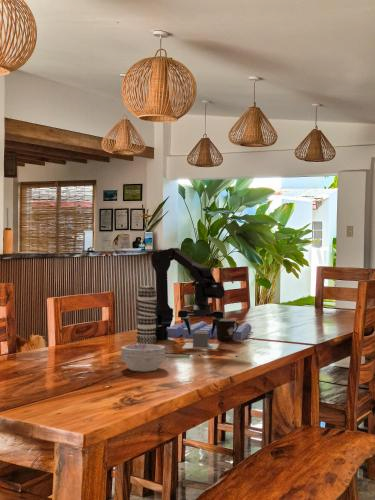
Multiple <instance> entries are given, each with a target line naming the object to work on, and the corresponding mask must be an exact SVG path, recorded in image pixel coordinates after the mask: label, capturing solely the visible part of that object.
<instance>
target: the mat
mask: <svg viewBox="0 0 375 500" xmlns="http://www.w3.org/2000/svg"><path fill="white" fill-rule="evenodd" d="M191 354H192V353H173V352H172V353H171V352H170V353H169V352H165V358H184V359H186V358H190V356H191Z"/></svg>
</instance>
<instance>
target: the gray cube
mask: <svg viewBox="0 0 375 500" xmlns="http://www.w3.org/2000/svg"><path fill="white" fill-rule="evenodd" d="M192 343H193V347H208V346H209V344H210V339H209V332H207V331H195V332H194V333H193V338H192Z"/></svg>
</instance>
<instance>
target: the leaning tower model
mask: <svg viewBox="0 0 375 500" xmlns="http://www.w3.org/2000/svg"><path fill="white" fill-rule="evenodd" d="M137 291H138V296H137V299H135V300H136V302H137V303H136V306H137V307H136V310H137V312H136V315H137V316H136V317H137V328H136V330H137V332H136V334H137V336H136V345H137V344H151V345H155V344H156V341H157V340H156V338H157V336H156V335H155V334H156V333H157V332H155V331H156V330H157V329H156V323H155V322H156V318H157V316H155V314H157V312H156V311H155V310H157V308H155V307H156V306H157V305H158V304H157V302H158V300H157V291H156V288H155V287H154V286H153V285H141V286H140V287H139V288H138V289H137ZM157 342H158V341H157Z"/></svg>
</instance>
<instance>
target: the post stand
mask: <svg viewBox="0 0 375 500" xmlns="http://www.w3.org/2000/svg"><path fill="white" fill-rule="evenodd" d="M219 346H220V343H209V346H208V347H193V342H186V343H185V344H184V345H183V346H182V348H181V349H191V350H192V349H198V350H218V347H219Z"/></svg>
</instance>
